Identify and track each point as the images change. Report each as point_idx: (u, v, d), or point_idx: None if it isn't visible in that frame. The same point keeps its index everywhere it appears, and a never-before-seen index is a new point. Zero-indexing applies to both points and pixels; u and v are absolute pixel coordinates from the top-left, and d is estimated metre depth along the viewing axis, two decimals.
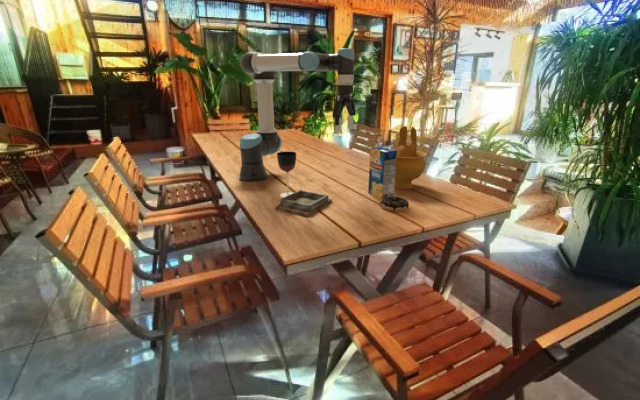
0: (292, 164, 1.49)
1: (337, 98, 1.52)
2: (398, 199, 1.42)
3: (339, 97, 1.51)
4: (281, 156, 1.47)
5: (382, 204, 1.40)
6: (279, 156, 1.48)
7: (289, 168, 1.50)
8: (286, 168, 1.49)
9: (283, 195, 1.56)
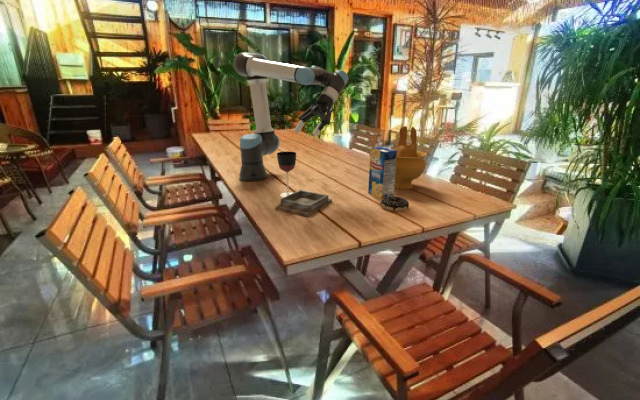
0: (292, 164, 1.49)
1: (330, 108, 1.53)
2: (398, 199, 1.42)
3: (332, 109, 1.54)
4: (281, 156, 1.47)
5: (382, 204, 1.40)
6: (279, 156, 1.48)
7: (289, 168, 1.50)
8: (286, 168, 1.49)
9: (283, 195, 1.56)
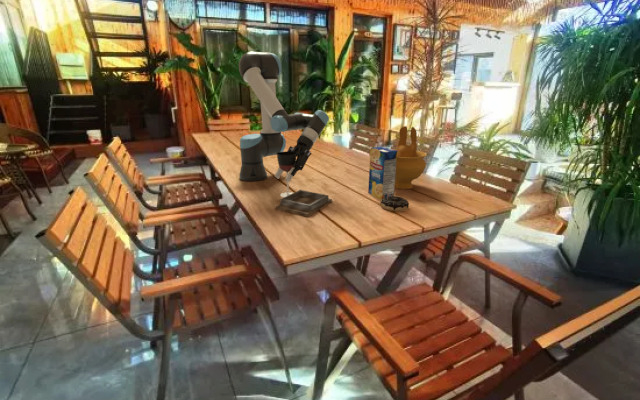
0: (292, 164, 1.49)
1: (308, 153, 1.51)
2: (398, 199, 1.42)
3: (310, 153, 1.51)
4: (281, 156, 1.47)
5: (382, 204, 1.40)
6: (279, 156, 1.48)
7: (289, 168, 1.50)
8: (286, 168, 1.49)
9: (283, 195, 1.56)
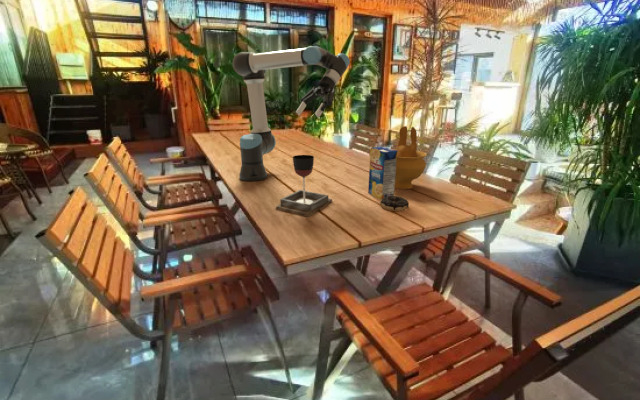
0: (309, 169, 1.37)
1: (332, 90, 1.57)
2: (398, 199, 1.42)
3: (334, 90, 1.57)
4: (298, 160, 1.34)
5: (382, 204, 1.40)
6: (295, 160, 1.35)
7: (306, 173, 1.37)
8: (303, 173, 1.37)
9: None
